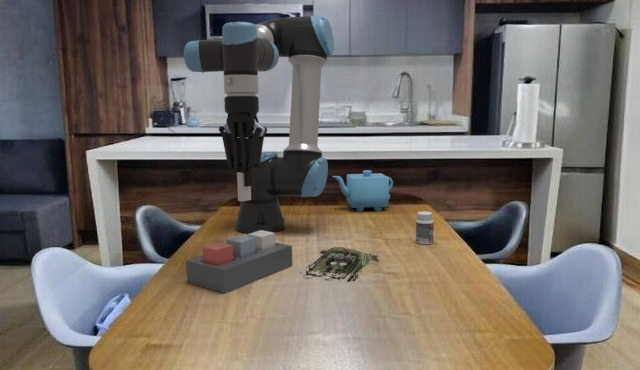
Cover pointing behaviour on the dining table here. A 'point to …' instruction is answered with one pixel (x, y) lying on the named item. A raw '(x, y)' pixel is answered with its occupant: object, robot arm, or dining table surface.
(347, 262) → the treatment plant
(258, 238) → the white key
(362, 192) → the teapot
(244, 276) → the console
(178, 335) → the dining table surface
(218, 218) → the dining table surface
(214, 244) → the red key
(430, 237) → the pill bottle
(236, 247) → the blue key
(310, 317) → the dining table surface
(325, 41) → the robot arm
